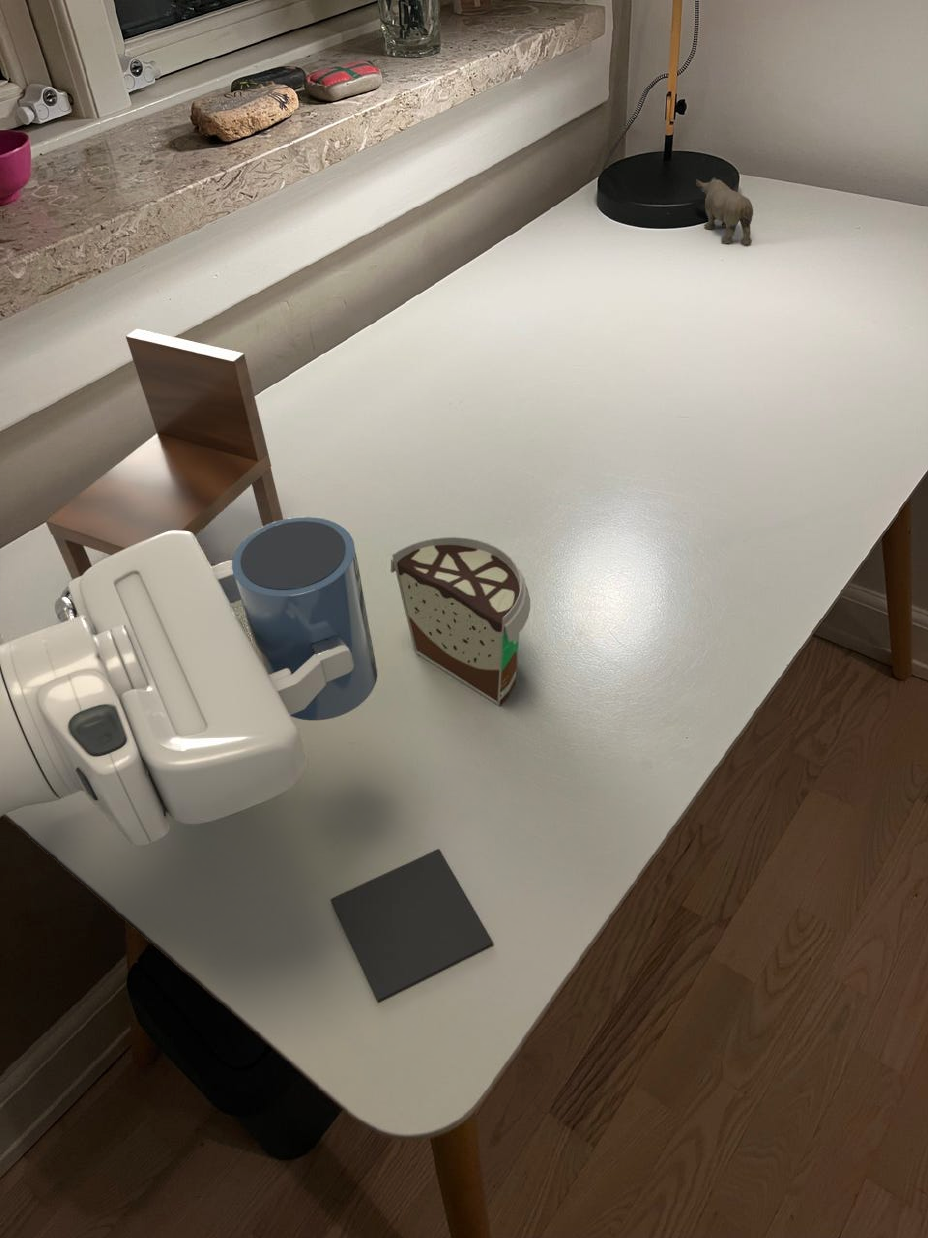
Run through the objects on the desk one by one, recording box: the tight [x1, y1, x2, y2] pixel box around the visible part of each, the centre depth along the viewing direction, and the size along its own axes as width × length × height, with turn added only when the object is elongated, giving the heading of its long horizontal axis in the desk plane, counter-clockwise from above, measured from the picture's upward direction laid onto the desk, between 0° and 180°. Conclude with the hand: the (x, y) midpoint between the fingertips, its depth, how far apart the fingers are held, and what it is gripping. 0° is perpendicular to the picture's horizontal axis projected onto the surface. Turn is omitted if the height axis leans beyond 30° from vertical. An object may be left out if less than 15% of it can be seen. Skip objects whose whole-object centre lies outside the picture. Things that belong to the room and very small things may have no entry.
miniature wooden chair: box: [45, 328, 284, 581], centre depth 90 cm, size 16×12×18 cm
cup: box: [232, 516, 378, 721], centre depth 60 cm, size 7×7×10 cm
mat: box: [330, 848, 494, 1003], centre depth 67 cm, size 8×8×1 cm
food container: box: [390, 536, 531, 707], centre depth 80 cm, size 12×6×10 cm, turn 47°
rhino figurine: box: [695, 177, 754, 246], centre depth 137 cm, size 4×14×6 cm, turn 18°
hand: (321, 609), depth 60 cm, fingers closed on cup, 7 cm apart
